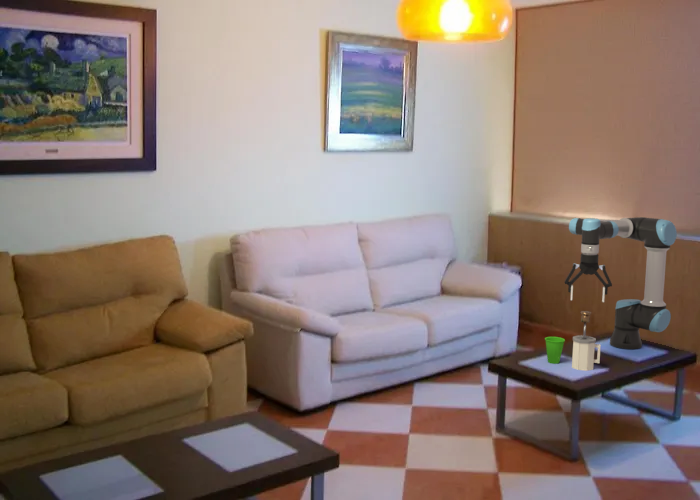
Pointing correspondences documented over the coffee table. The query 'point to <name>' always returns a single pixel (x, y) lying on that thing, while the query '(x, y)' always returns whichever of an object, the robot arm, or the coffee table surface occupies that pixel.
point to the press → (584, 353)
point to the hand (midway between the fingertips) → (587, 300)
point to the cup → (554, 349)
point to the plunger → (585, 320)
